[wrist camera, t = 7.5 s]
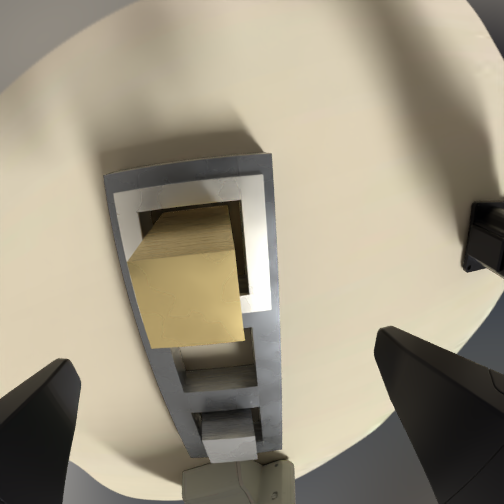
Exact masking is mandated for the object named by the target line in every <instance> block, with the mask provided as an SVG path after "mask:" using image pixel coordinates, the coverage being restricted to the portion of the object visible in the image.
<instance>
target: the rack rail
mask: <svg viewBox="0 0 504 504" xmlns="http://www.w3.org/2000/svg"><path fill="white" fill-rule="evenodd" d="M103 177H104V184H105V190H106V196H107V202H108V208H109V214H110V219H111V224H112V229H113V234H114V239H115V244H116V248H117V253H118V257H119V261H120V265H121V269H122V273H123V277H124V281H125V285H126V289H127V292H128V296H129V300H130V303H131V307H132V310H133V313H134V317H135V320H136V323H137V326H138V330H139V333H140V336H141V339H142V342H143V345H144V348H145V351H146V353H147V356H148V359H149V362H150V365H151V367H152V370H153V373H154V375H155V378H156V381H157V383H158V386H159V388H160V391H161V393H162V396H163V398H164V401H165V403H166V405H167V408H168V410H169V412H170V415H171V417H172V419H173V422H174V424H175V426H176V428H177V430H178V433H179V435H180V437H181V439H182V441H183V443H184V445H185V447H186V449H187V451H188V453H189V455H190V457H191V458H200V457H208V455H207V452H206V449H205V447H204V444H203V442H202V420H201V417H200V414H199V412H211V411H224V410H235V409H244V408H252V407H258V409H259V419H260V421H258V422H253V427H254V433H255V441H256V449H257V453H260V452H268V451H275V450H281V449H282V384H281V340H280V308H279V282H278V258H277V237H276V218H275V200H274V183H273V168H272V153H266V152H261V153H247V154H236V155H225V156H215V157H206V158H197V159H189V160H182V161H174V162H168V163H161V164H154V165H148V166H142V167H136V168H131V169H125V170H120V171H116V172H112V173H109V174H106V175H103ZM234 200H239V208H240V220H241V231H242V242H243V253H244V264H245V275H237V276H238V285H239V294H240V303H241V312H242V320H243V328H249V327H250V328H251V339H252V349H253V359H254V364H253V365H245V366H236V367H227V368H216V369H205V370H191V371H186V369H185V366H184V362H183V359H182V355H181V351H180V348H179V347H171V348H154V349H151V346H150V343H149V339H148V336H147V333H146V330H145V327H144V324H143V320H142V317H141V314H140V310H139V307H138V303H137V300H136V296H135V292H134V289H133V285H132V281H131V277H130V273H129V269H128V265H127V261H128V260H129V258H130V257H131V256H132V254H133V253H134V251H135V250H136V249H137V247H138V246H139V245H140V243H141V242H142V240H143V239H144V238H145V236H146V235H147V234H148V232H149V231H150V230H151V228H152V227H153V224H152V218H151V211H150V210H158V209H165V208H173V207H181V206H189V205H197V204H206V203H215V202H224V201H234Z"/></svg>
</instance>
